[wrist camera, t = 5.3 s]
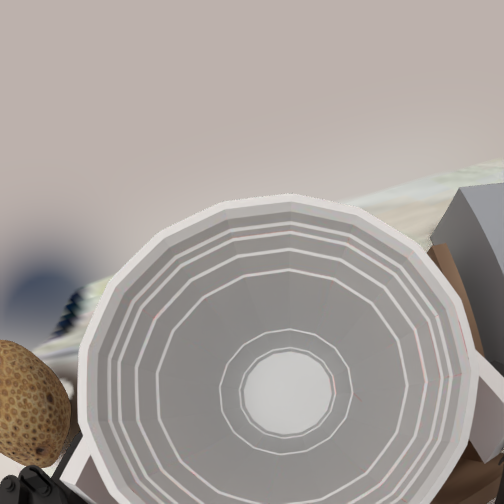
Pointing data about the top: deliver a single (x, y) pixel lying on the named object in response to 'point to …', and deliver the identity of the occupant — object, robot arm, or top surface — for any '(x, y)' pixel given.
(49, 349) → the top surface
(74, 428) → the top surface
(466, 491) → the brown wooden frame
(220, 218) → the plastic cup
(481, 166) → the top surface
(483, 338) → the grey square block
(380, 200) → the top surface
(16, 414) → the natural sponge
